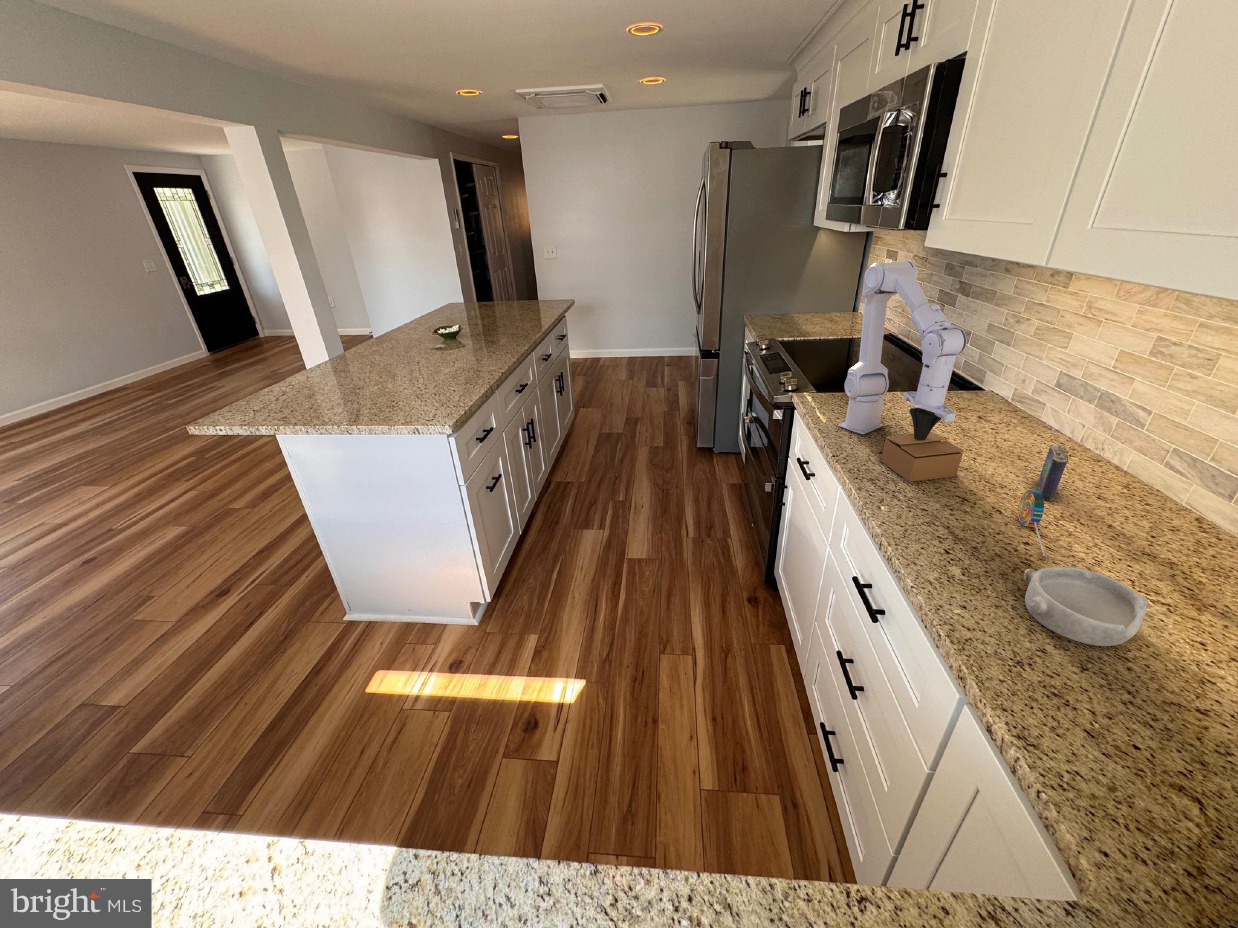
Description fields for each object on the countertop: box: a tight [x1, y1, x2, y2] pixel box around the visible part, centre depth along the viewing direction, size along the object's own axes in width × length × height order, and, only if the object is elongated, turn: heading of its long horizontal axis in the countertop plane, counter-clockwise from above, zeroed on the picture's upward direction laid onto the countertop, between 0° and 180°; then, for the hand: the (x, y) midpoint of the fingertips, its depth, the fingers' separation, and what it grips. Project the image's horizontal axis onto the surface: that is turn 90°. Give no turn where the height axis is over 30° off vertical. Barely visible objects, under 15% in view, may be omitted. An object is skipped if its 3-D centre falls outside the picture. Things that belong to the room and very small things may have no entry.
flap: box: [885, 431, 947, 445], centre depth 121 cm, size 5×12×1 cm, turn 98°
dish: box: [1023, 566, 1149, 647], centre depth 77 cm, size 14×14×5 cm
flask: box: [1036, 444, 1070, 501], centre depth 108 cm, size 9×3×11 cm, turn 147°
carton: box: [880, 438, 964, 483], centre depth 120 cm, size 11×12×7 cm
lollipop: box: [1017, 489, 1046, 557], centre depth 96 cm, size 7×1×15 cm
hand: (919, 438), depth 120 cm, fingers closed
